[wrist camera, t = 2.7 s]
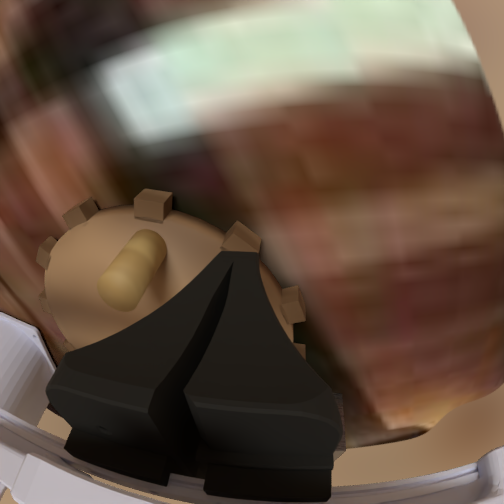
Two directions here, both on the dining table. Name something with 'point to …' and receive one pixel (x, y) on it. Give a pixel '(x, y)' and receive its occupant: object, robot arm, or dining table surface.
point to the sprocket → (139, 266)
